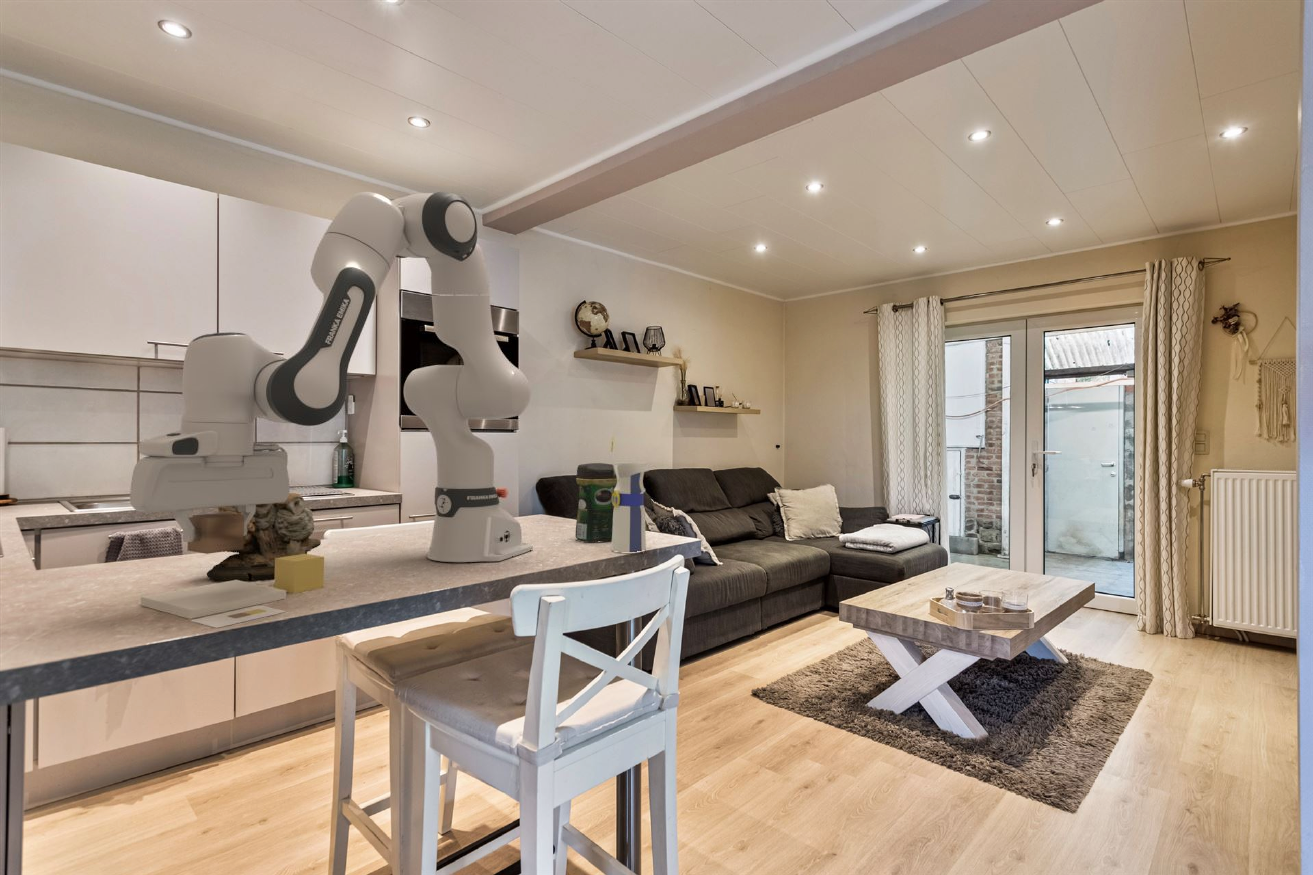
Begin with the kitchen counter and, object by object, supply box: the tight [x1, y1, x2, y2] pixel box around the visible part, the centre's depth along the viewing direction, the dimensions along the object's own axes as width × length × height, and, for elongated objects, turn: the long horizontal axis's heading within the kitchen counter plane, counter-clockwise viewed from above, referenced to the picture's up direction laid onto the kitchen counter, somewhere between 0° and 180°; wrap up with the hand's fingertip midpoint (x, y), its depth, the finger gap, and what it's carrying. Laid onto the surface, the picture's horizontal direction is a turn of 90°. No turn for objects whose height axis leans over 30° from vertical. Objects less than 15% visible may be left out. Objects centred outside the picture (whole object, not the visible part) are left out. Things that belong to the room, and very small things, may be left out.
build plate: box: [140, 580, 287, 620], centre depth 96 cm, size 13×13×1 cm
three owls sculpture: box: [206, 492, 322, 583], centre depth 115 cm, size 18×12×17 cm, turn 133°
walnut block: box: [187, 512, 244, 555], centre depth 95 cm, size 5×5×5 cm
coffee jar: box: [575, 462, 617, 543], centre depth 158 cm, size 10×8×19 cm
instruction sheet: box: [190, 604, 286, 629], centre depth 88 cm, size 9×6×1 cm, turn 152°
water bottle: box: [610, 436, 650, 552], centre depth 144 cm, size 8×9×25 cm
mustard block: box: [273, 553, 325, 594], centre depth 105 cm, size 5×5×5 cm
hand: (215, 538), depth 95 cm, fingers closed on walnut block, 5 cm apart
